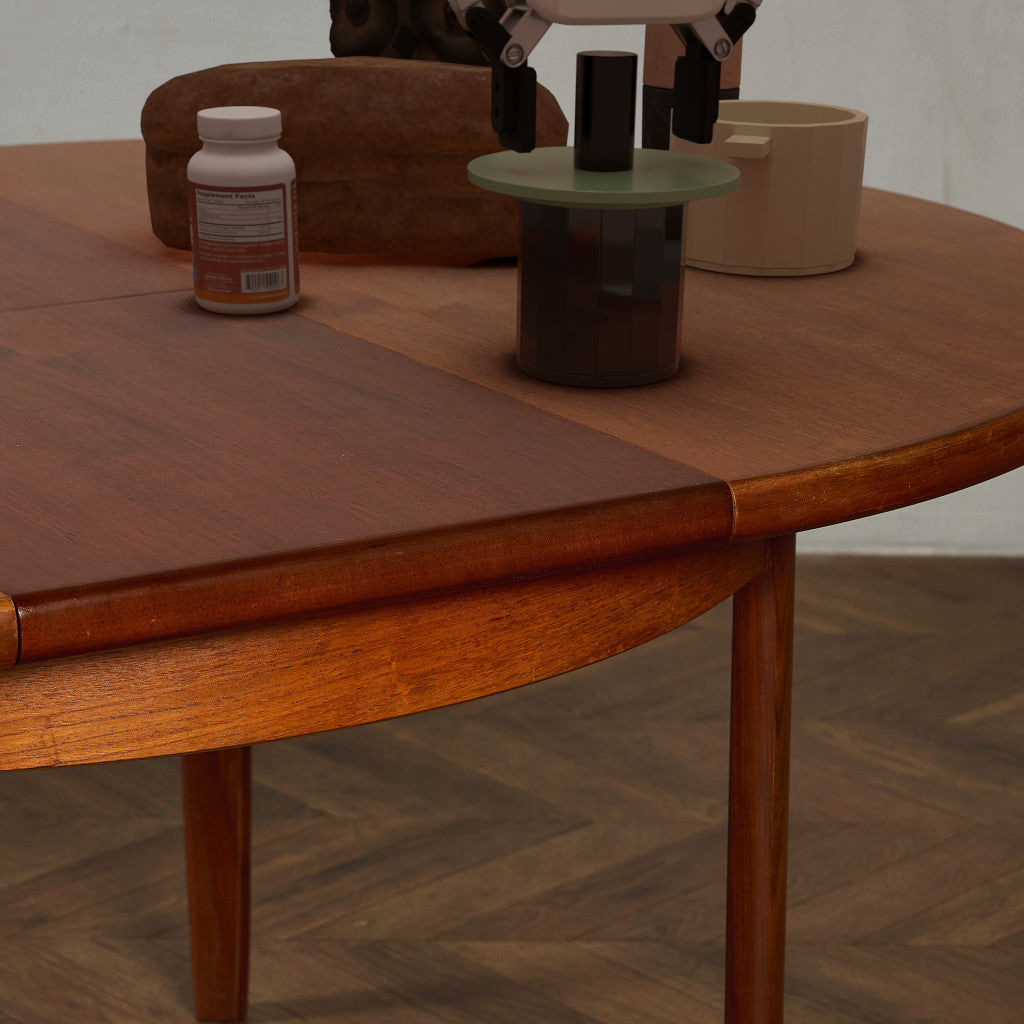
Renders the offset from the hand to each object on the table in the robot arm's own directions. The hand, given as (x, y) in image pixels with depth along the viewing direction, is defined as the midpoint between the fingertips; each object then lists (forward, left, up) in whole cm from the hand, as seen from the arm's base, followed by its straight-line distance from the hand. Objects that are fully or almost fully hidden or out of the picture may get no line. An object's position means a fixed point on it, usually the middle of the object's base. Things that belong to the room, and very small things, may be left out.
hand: (605, 144), depth 81 cm
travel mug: (+23, -45, -11) cm, 52 cm away
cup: (0, 0, -11) cm, 11 cm away
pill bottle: (+23, +3, -11) cm, 26 cm away
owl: (+40, -34, -11) cm, 54 cm away
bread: (+29, -13, -11) cm, 34 cm away
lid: (0, 0, -2) cm, 2 cm away
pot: (+7, -29, -11) cm, 32 cm away
